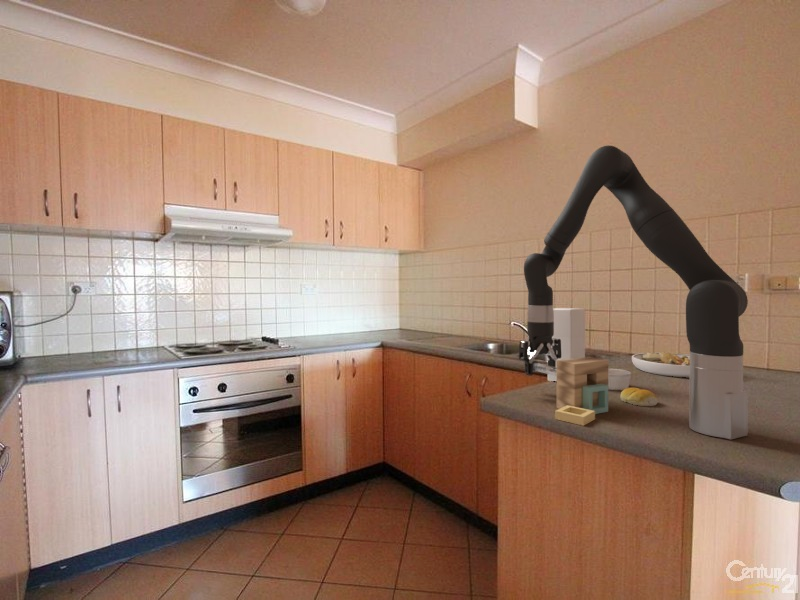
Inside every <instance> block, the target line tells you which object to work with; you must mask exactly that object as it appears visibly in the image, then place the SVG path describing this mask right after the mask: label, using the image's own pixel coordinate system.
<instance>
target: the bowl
mask: <svg viewBox="0 0 800 600" xmlns="http://www.w3.org/2000/svg"><path fill="white" fill-rule="evenodd" d="M631 361H632V363H633V366H635V368H637V369H638V370H640V371H642V372H644V373H649V374H654V375H659V376H664V377H665V376H666V377H672V376H673V378H682V377H686V379H689V376H690V354H687V353H685V354H683V353H671V352H665V351H663V352H661V351H659V352H643V353H636V354H633V355H631Z"/></svg>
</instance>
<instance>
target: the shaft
mask: <svg viewBox="0 0 800 600" xmlns="http://www.w3.org/2000/svg"><path fill="white" fill-rule="evenodd" d="M532 363H533V373H537V372H539V373H542V374H543V373H544V374H547V375H548V374H551V375H554V376H557V367H553V366H548V364H544V363H539V361H537V360H535V359H534V360H533V362H532Z"/></svg>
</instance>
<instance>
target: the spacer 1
mask: <svg viewBox="0 0 800 600" xmlns="http://www.w3.org/2000/svg"><path fill="white" fill-rule="evenodd" d="M554 419H555V420H559V421H562V422H566V423H571V424H574V425H579V426H582V427H584V426H585V425H587V424H589V423H591V422H592V421H595V419H596V414H595V411H593V410H588V409H583V408H579V407H574V406H569V405H567V406H565V407H562V408H560V409H559V408H557V409H556V410H554Z"/></svg>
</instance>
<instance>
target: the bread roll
mask: <svg viewBox="0 0 800 600" xmlns="http://www.w3.org/2000/svg"><path fill="white" fill-rule="evenodd" d="M620 400H621V401H622V402H623V401H624V403H626V402H627V404H629V405H632V404H633V406H637V405H638V406H639V407H654V406H657V404H658V401H659V398H658V397H657V395H656V394H655V393H653V392H652V391H651V390H647V389H644V388H643V389H641V388H639V387H628V388H627V389H624V390H621V392H620Z"/></svg>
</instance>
